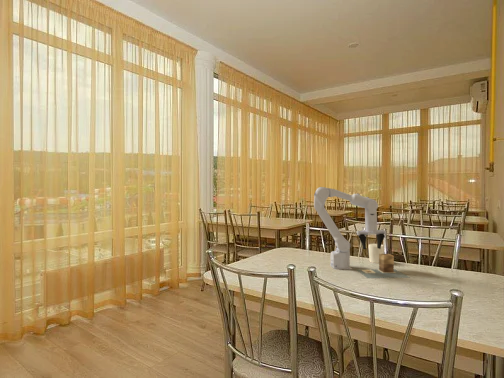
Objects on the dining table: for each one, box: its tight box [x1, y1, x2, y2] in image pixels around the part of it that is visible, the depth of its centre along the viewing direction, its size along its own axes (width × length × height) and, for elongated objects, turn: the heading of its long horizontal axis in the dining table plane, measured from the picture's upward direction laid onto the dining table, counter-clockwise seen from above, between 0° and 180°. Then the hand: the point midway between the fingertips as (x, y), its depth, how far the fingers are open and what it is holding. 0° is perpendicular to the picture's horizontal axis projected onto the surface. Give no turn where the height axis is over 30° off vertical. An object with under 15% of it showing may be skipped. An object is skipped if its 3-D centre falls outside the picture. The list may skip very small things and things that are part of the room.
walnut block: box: [378, 262, 395, 272], centre depth 161 cm, size 5×5×4 cm
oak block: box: [379, 253, 395, 264], centre depth 161 cm, size 5×5×4 cm
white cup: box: [368, 243, 385, 264], centre depth 180 cm, size 8×8×10 cm
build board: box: [356, 268, 411, 279], centre depth 157 cm, size 20×15×1 cm
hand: (371, 248), depth 167 cm, fingers open, 7 cm apart
